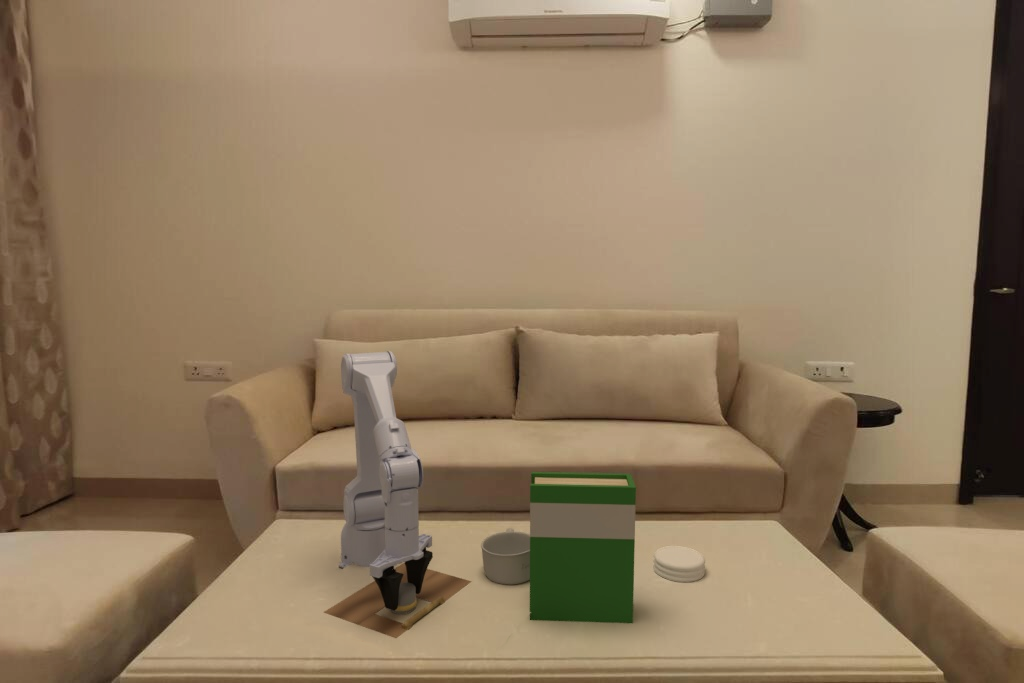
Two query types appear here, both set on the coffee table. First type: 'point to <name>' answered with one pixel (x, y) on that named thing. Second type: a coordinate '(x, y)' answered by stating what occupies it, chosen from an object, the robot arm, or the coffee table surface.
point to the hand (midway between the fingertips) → (403, 600)
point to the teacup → (507, 557)
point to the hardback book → (582, 547)
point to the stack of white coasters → (679, 563)
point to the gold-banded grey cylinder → (406, 598)
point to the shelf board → (371, 601)
